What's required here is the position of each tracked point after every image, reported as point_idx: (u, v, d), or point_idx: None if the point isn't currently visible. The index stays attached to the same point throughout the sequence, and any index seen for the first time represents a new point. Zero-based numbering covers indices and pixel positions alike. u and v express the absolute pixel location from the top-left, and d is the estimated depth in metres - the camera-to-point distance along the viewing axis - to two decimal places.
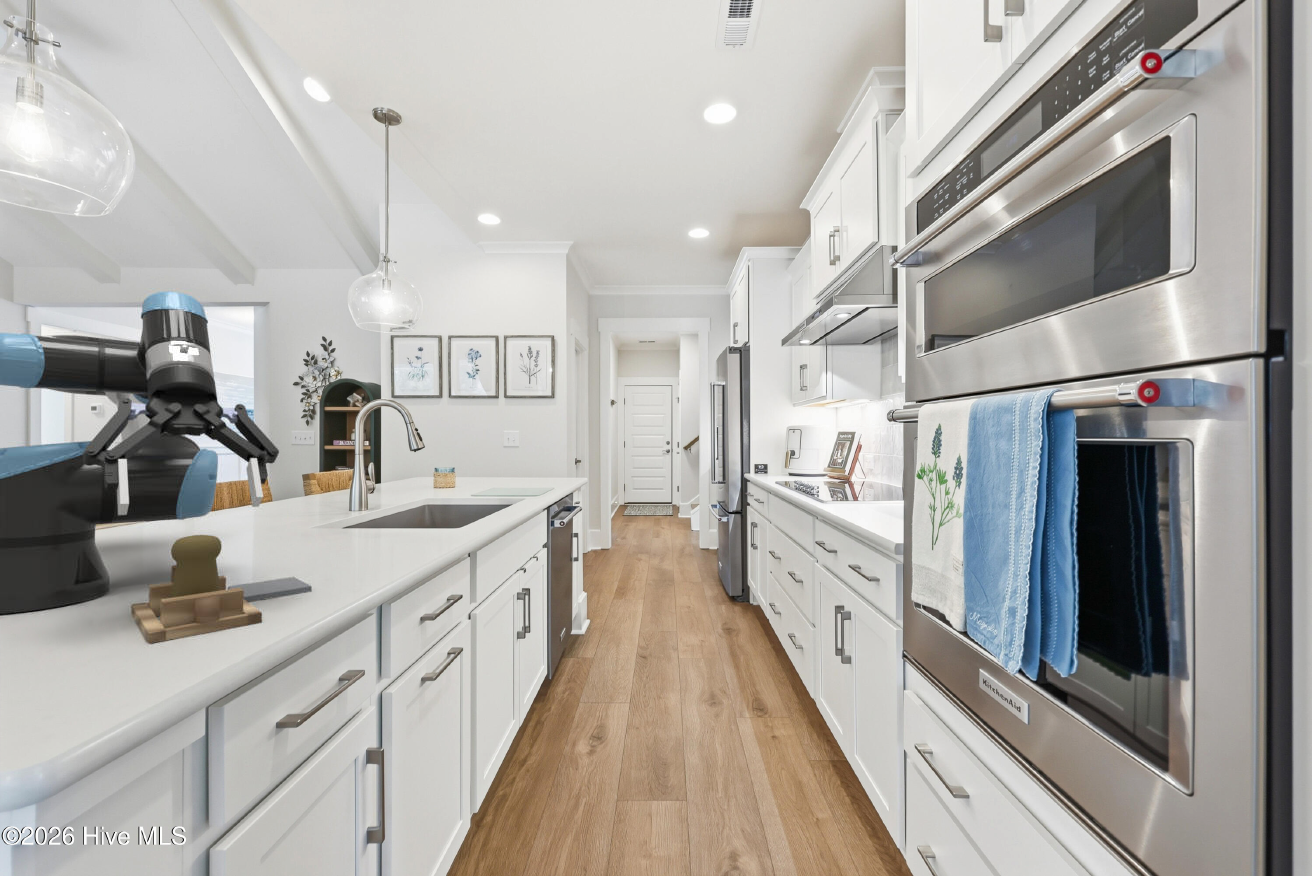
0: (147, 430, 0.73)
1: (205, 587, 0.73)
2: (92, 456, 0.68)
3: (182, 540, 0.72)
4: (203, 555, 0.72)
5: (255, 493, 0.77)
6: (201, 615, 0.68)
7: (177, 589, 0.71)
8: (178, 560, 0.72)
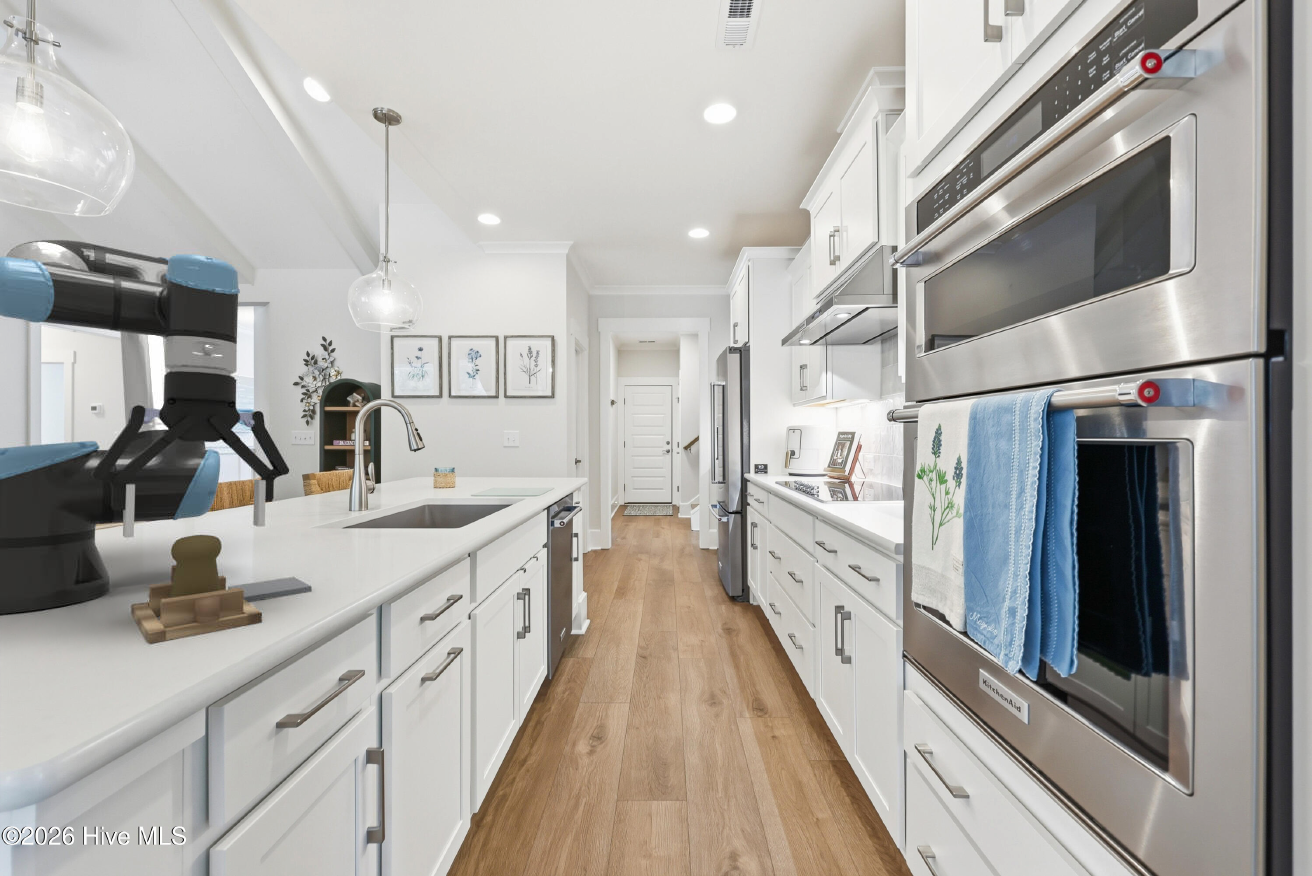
0: (158, 447, 0.70)
1: (205, 587, 0.73)
2: (100, 478, 0.66)
3: (182, 540, 0.72)
4: (203, 555, 0.72)
5: (257, 520, 0.78)
6: (201, 615, 0.68)
7: (177, 589, 0.71)
8: (178, 560, 0.72)
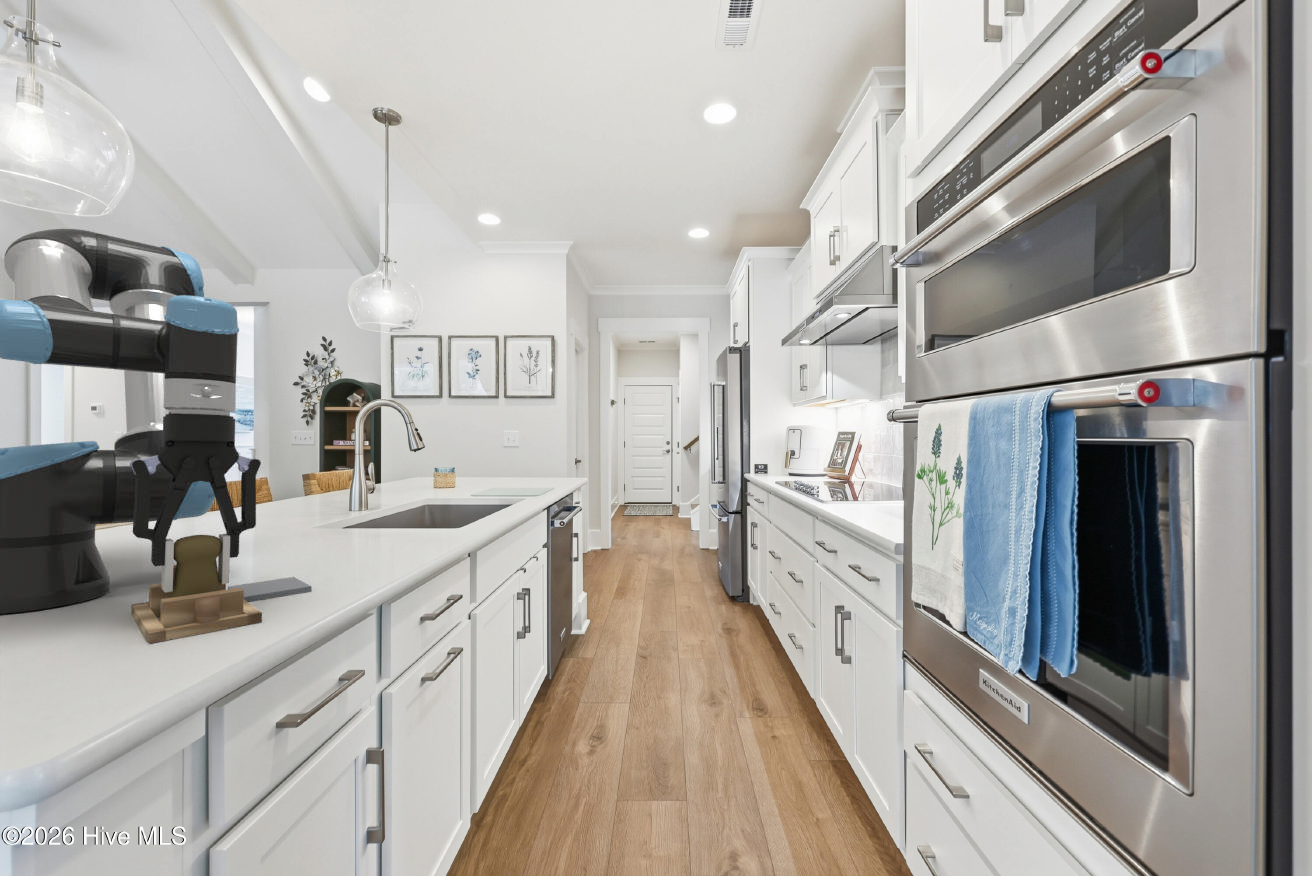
0: (176, 497, 0.71)
1: (205, 587, 0.73)
2: (142, 536, 0.69)
3: (182, 540, 0.72)
4: (203, 555, 0.72)
5: (221, 578, 0.75)
6: (201, 615, 0.68)
7: (177, 588, 0.71)
8: (178, 560, 0.72)
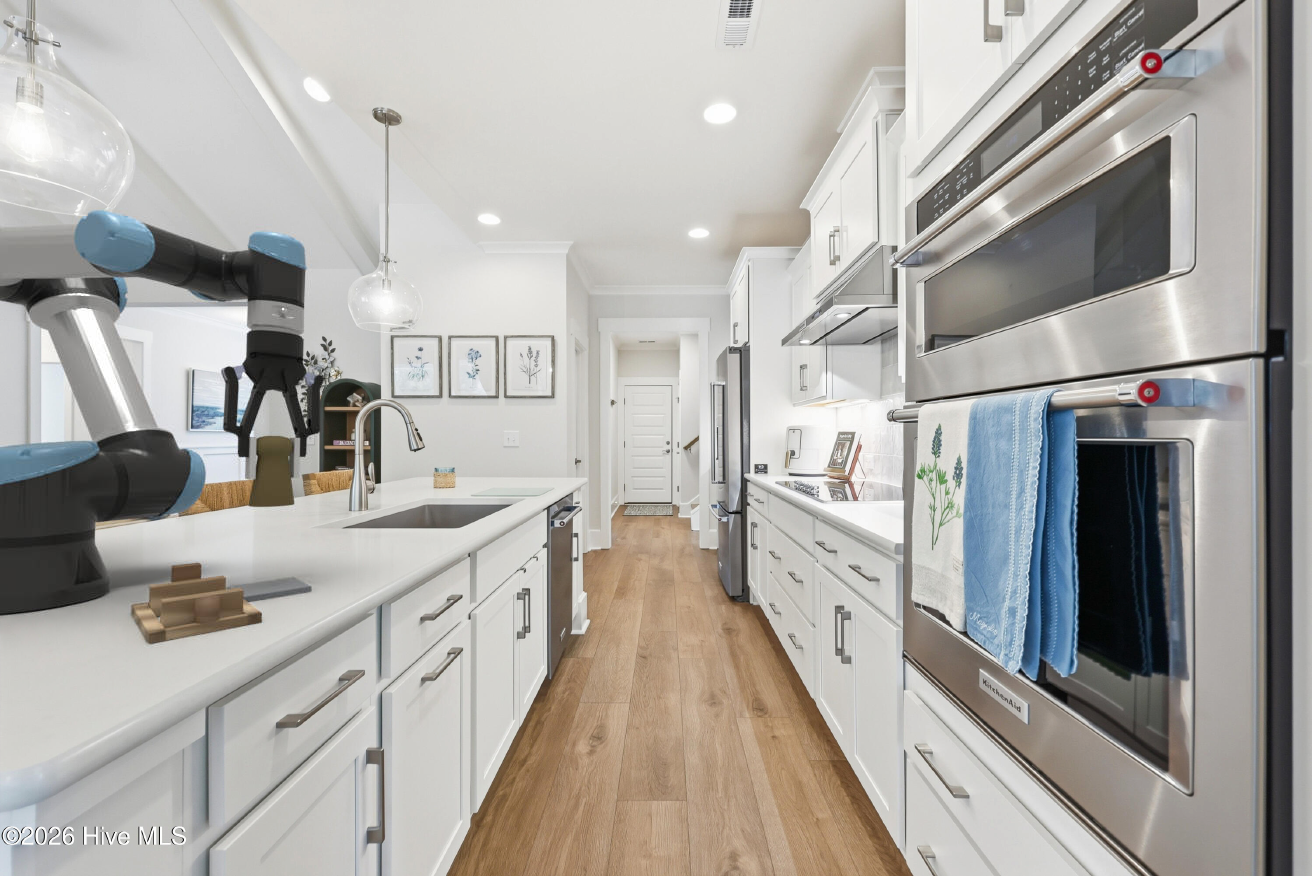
0: (258, 400, 0.85)
1: (281, 478, 0.86)
2: (231, 431, 0.83)
3: (262, 437, 0.86)
4: (280, 450, 0.86)
5: (293, 473, 0.89)
6: (201, 615, 0.68)
7: (258, 477, 0.85)
8: (259, 453, 0.85)
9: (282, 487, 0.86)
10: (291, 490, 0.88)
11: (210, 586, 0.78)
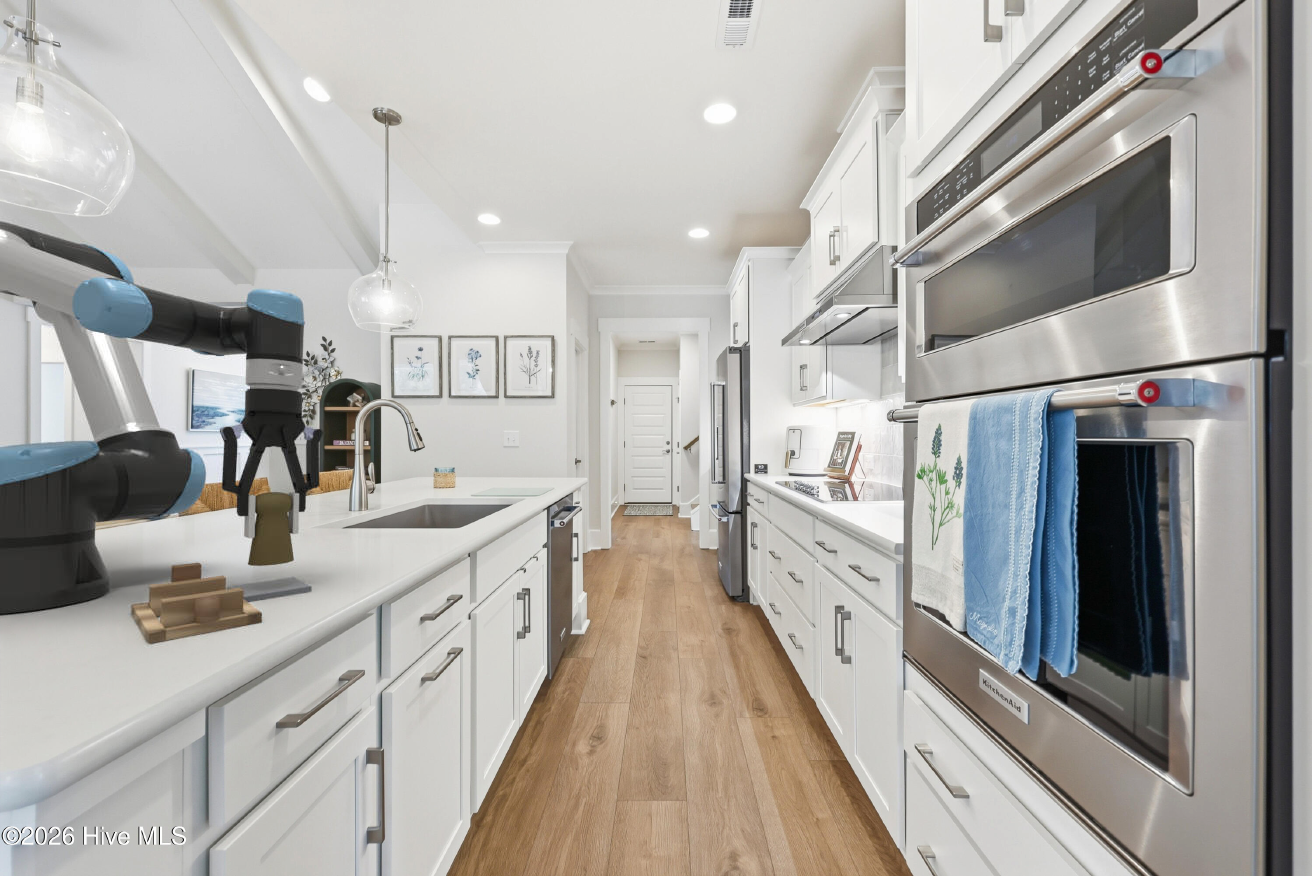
0: (256, 458, 0.85)
1: (280, 535, 0.86)
2: (230, 490, 0.83)
3: (261, 495, 0.86)
4: (279, 508, 0.86)
5: (292, 528, 0.89)
6: (201, 615, 0.68)
7: (258, 535, 0.85)
8: (259, 512, 0.85)
9: (281, 545, 0.86)
10: (290, 546, 0.88)
11: (210, 586, 0.78)
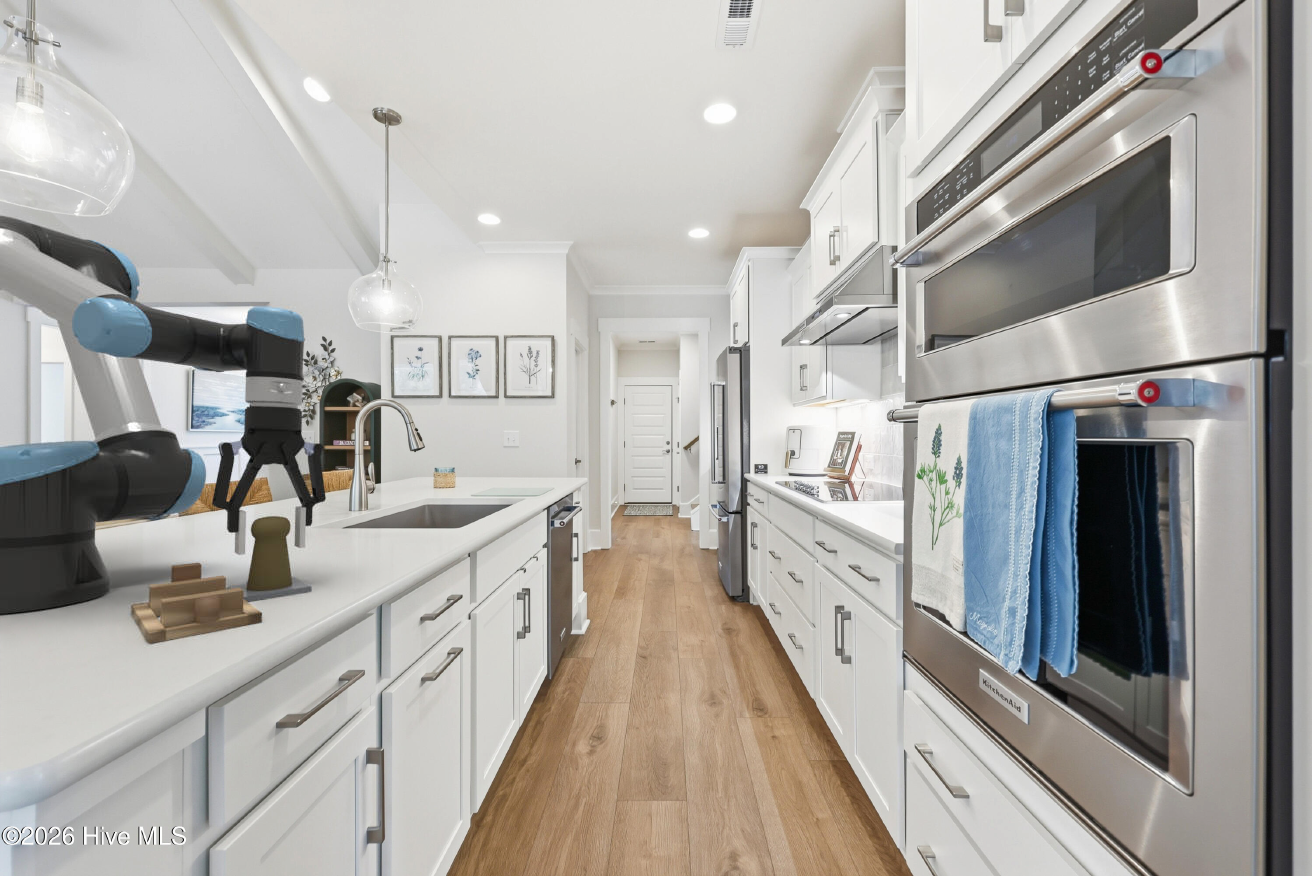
0: (252, 475, 0.85)
1: (279, 560, 0.86)
2: (220, 507, 0.82)
3: (260, 520, 0.85)
4: (277, 533, 0.86)
5: (299, 542, 0.89)
6: (201, 615, 0.68)
7: (256, 561, 0.85)
8: (257, 537, 0.85)
9: (279, 570, 0.86)
10: (289, 571, 0.88)
11: (210, 586, 0.78)
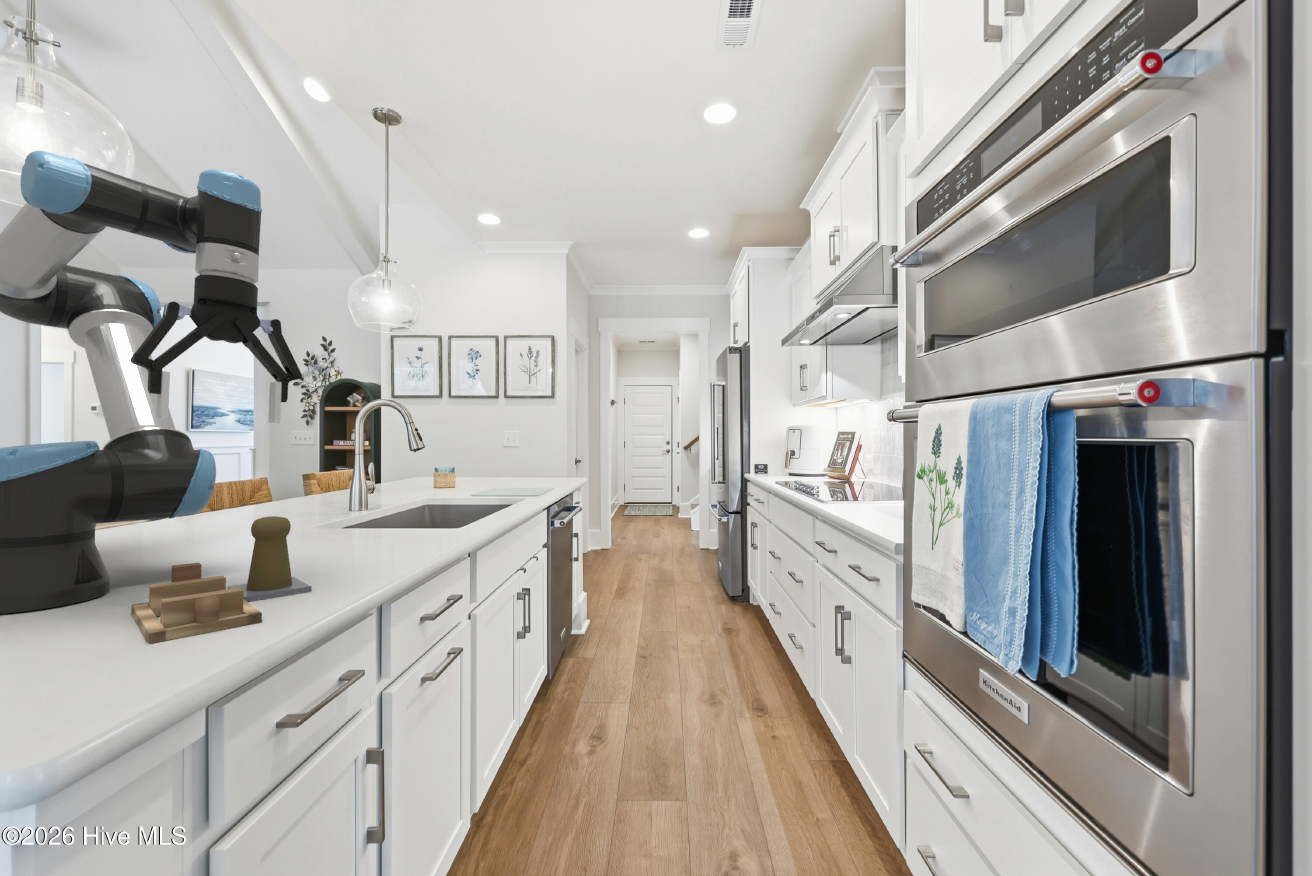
0: (190, 341, 0.78)
1: (279, 560, 0.86)
2: (140, 363, 0.75)
3: (260, 520, 0.86)
4: (277, 533, 0.86)
5: (274, 417, 0.87)
6: (201, 615, 0.68)
7: (256, 561, 0.85)
8: (257, 537, 0.85)
9: (279, 570, 0.86)
10: (289, 571, 0.88)
11: (210, 586, 0.78)
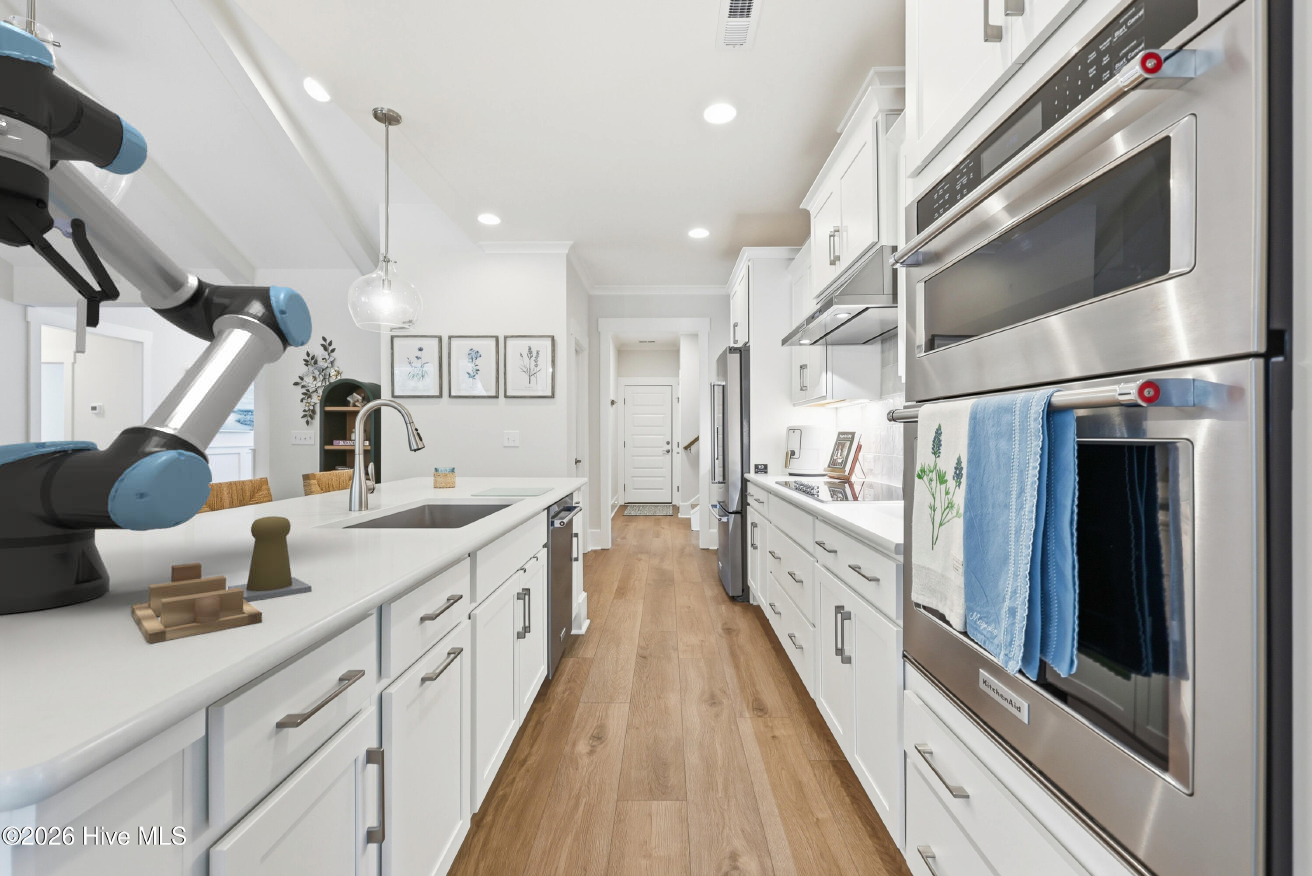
0: None
1: (279, 560, 0.86)
2: None
3: (260, 520, 0.86)
4: (277, 533, 0.86)
5: (76, 344, 0.68)
6: (201, 615, 0.68)
7: (256, 561, 0.85)
8: (257, 537, 0.85)
9: (279, 570, 0.86)
10: (289, 571, 0.88)
11: (210, 586, 0.78)
